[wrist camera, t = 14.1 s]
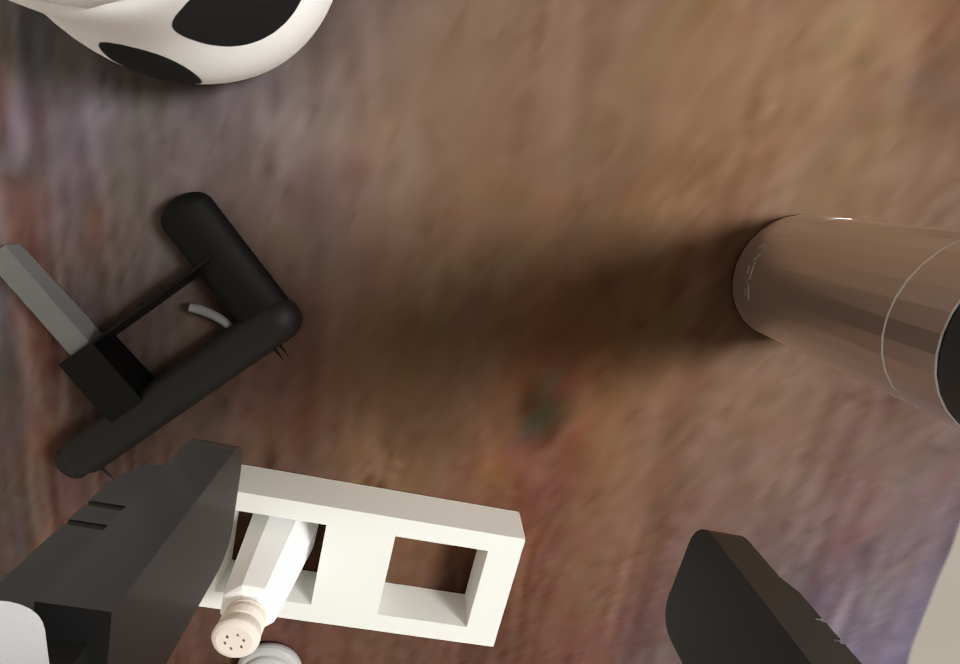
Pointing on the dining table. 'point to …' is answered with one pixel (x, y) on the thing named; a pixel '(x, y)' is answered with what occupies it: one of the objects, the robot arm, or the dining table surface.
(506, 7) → the dining table surface
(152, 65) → the milk container
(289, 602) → the rail
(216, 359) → the door handle
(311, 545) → the salt shaker
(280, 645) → the chess piece
